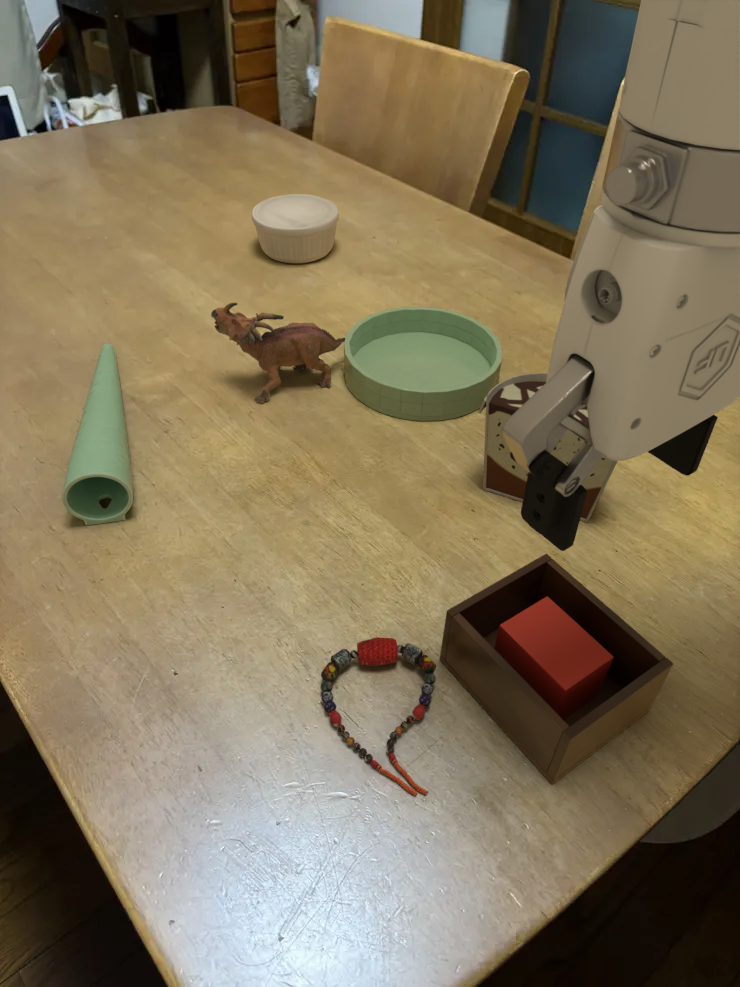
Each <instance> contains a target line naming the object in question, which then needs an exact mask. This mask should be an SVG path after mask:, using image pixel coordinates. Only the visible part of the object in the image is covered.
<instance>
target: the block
mask: <svg viewBox="0 0 740 987" xmlns="http://www.w3.org/2000/svg"><path fill="white" fill-rule="evenodd" d="M494 649H495V650H496V651H497V652H498V653H499V654H500V655H501V656H502V657H503V659H504V660H505V661H506V662H507V663H508V664H509V665H510V666H511V667H512V668H513V669H514V670H515V671H516V672H517V673H518V674H519V675H520V676H521V677H522V678H523V679H524V680H525V681H526V682H527V683H528V684H529V685H530V686H531V687H532V688H533V689H534V691H535V692H536V693H537V694H538V695H539V696H540V697H541V698H542V699H543V700H544V701H545V702H546V703H547V704H548V705H549V706H550V707H551V708H552V709H553V710H554V711H555V712H556V713H557V714H558V715H559V716H560V717H561V718H562V719H563V720H564V719H566V718H567V717H568V716H570V715H571V714H573V713H574V712H575V711H577V710H578V709H579V708H581V707H582V706H584V705H585V704H586V703H588V702H589V701H591V700H592V699H593V698H595V697H596V696H598V694H599V691H600V689H601V686H602V684H603V682H604V679H605V677H606V675H607V672H608V670H609V667H610V665H611V663H612V660H613V658H614V657H613V656H612V655H611V654H610V653H609V652H608V651H607V650H606V649H605V648H604V647H602V646H601V645H600V644H599V643H598V642H597V641H596V640H595V639H594V638H593V637H592V636H590V635H589V634H588V633H587V632H586V631H585V630H584V629H583V628H582V627H581V626H579V625H578V624H577V623H576V622H575V621H574V620H573V619H572V618H571V617H570V616H569V615H567V614H566V613H565V612H564V611H563V610H562V609H561V608H560V607H559V606H558V605H556V604H555V603H554V602H553V601H552V600H551V599H550V598H549V597H548V596H547V597H545V598H543V599H542V600H540V601H538V602H537V603H535V604H533V605H532V606H530V607H528V608H527V609H525V610H524V611H522V612H520V613H519V614H517V615H515V616H514V617H512V618H510V619H509V620H507V621H505V622H504V623H502V624H501V625H500V626H499V630H498V635H497V639H496V643H495V648H494Z"/></svg>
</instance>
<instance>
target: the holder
mask: <svg viewBox="0 0 740 987" xmlns="http://www.w3.org/2000/svg"><path fill="white" fill-rule="evenodd" d="M547 596H548V597H549V598H550V599H551V600H552V601H553V602H554V603H555V604H556V605H558V606H559V607H560V608H561V609H562V610H563V611H564V612H565V613H566V614H567V615H569V616H570V617H571V618H572V619H573V620H574V621H575V622H576V623H577V624H578V625H579V626H581V627H582V628H583V629H584V630H585V631H586V632H587V633H588V634H589V635H590V636H592V637H593V638H594V639H595V640H596V641H597V642H598V643H599V644H600V645H601V646H602V647H604V648H605V649H606V650H607V651H608V652H609V653H610V654H611V655H612V656H613V657H614V658H613V660H612V663H611V665H610V667H609V670H608V672H607V675H606V677H605V679H604V682H603V684H602V686H601V689H600V691H599V694H598V696H596V697H595V698H593V699H592V700H591V701H589V702H588V703H586V704H585V705H584V706H582V707H581V708H579V709H578V710H577V711H575V712H574V713H573V714H571V715H570V716H568V717H567V718H566V719H564V720H563V719H562V718H561V717H560V716H559V715H558V714H557V713H556V712H555V711H554V710H553V709H552V708H551V707H550V706H549V705H548V704H547V703H546V702H545V701H544V700H543V699H542V698H541V697H540V696H539V695H538V694H537V693H536V692H535V691H534V689H533V688H532V687H531V686H530V685H529V684H528V683H527V682H526V681H525V680H524V679H523V678H522V677H521V676H520V675H519V674H518V673H517V672H516V671H515V670H514V669H513V668H512V667H511V666H510V665H509V664H508V663H507V662H506V661H505V660H504V659H503V657H502V656H501V655H500V654H499V653H498V652H497V651H496V650H495V649H494V648H495V643H496V639H497V635H498V630H499V626H500V625H501V624H502V623H504V622H505V621H507V620H509V619H510V618H512V617H514V616H515V615H517V614H519V613H520V612H522V611H524V610H525V609H527V608H528V607H530V606H532V605H533V604H535V603H537V602H538V601H540V600H542V599H543V598H545V597H547ZM443 626H444V627H443V634H442V640H441V647H440V653H439V654H440V655H439V660H440V662H441V663H442V664H443V665H444V666H445V667H446V668H447V670H448V671H449V672H450V673H451V674H452V675H453V676H454V677H455V678H456V680H457V681H458V682H459V683H460V684H461V685H462V686H463V687H464V688H465V689H466V691H467V692H468V693H469V694H470V695H471V696H472V698H474V700H475V701H476V702H477V703H478V704H479V705H480V706H481V707H482V709H483V710H484V711H485V712H486V713H487V715H489V717H490V718H491V719H492V720H493V721H494V722H495V723H496V724H497V725H498V726H499V727H500V729H501V730H502V731H503V732H504V733H505V734H506V736H508V738H509V739H510V740H511V742H513V743H514V745H516V746H517V748H519V750H520V751H521V752H522V753H523V754H524V755H525V757H526V758H527V759H528V760H529V761H530V762H531V763H532V764H533V766H534V767H535V768H536V769H537V770H538V771H539V772H540V773H541V774H542V775H543V777H544V778H545V779H546V780H547V781H548V782H549V783H550V784H551V785H554V784H555V783H557V782H558V781H559V780H560V779H562V778H563V777H564V776H566V775H567V774H569V772H571V771H572V770H574V769H575V768H576V767H578V766H579V765H580V764H582V763H583V762H584V761H585V760H587V759H588V758H589V757H591V756H592V755H593V754H595V753H596V752H597V751H598V750H600V749H601V748H603V747H604V746H606V745H607V744H608V743H609V742H611V741H612V740H613V739H614V738H616V737H617V736H618V735H619V734H621V733H622V732H623V731H625V730H626V729H627V728H629V727H630V726H632V725H633V724H634V723H635V722H637V721H638V720H640V718H642V717H643V716H644V715H646V714H647V713H649V712H650V709H651V708H652V707H653V704H654V702H655V700H656V699H657V696H658V695H659V693H660V691H661V689H662V687H663V685H664V683H665V681H666V680H667V678H668V675H669V674H670V672H671V670H672V667H673V666H674V662H672V661H671V660H670V659H669V658H668V657H667V656H666V655H665V654H663V653H662V652H661V651H659V649H658V648H656V647H655V646H654V645H653V644H652V643H651V642H650V641H648V640H647V639H646V638H645V637H644V636H642V635H641V634H640V633H639V632H638V631H637V630H636V629H634V628H633V627H632V626H631V625H630V624H629V623H627V622H626V621H625V620H624V619H623V618H622V617H620V616H619V615H618V613H616V612H615V611H613V609H611V608H610V607H609V606H608V605H607V604H605V603H604V602H603V600H601V599H600V598H598V597H597V595H595V594H594V593H593V592H592V591H590V590H589V589H588V588H587V587H586V586H585V585H584V584H582V583H581V582H580V581H579V580H578V579H577V578H575V576H573V575H572V574H571V573H570V572H568V571H567V570H566V569H565V568H564V567H562V565H561V564H560V563H559V562H557V561H556V560H555V559H553V557H551V556H550V554H548V553H545V554H543V555H540V556H539V557H538V558H536V559H534V560H532V561H531V562H529V563H527V564H526V565H524V566H522V567H520V568H519V569H517V570H515V571H513V572H511V573H510V574H507V575H506V576H505V577H502V578H501V579H499V580H497V581H496V582H494V583H492V584H491V585H489V586H487V587H485V588H483V589H482V590H479V591H478V592H477V593H475V594H473V595H472V596H469V597H468V598H466V599H464V600H463V601H461V602H459V603H457V604H456V605H454V606H452V607H450V608H449V609H447V610H446V614H445V620H444V625H443Z"/></svg>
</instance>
